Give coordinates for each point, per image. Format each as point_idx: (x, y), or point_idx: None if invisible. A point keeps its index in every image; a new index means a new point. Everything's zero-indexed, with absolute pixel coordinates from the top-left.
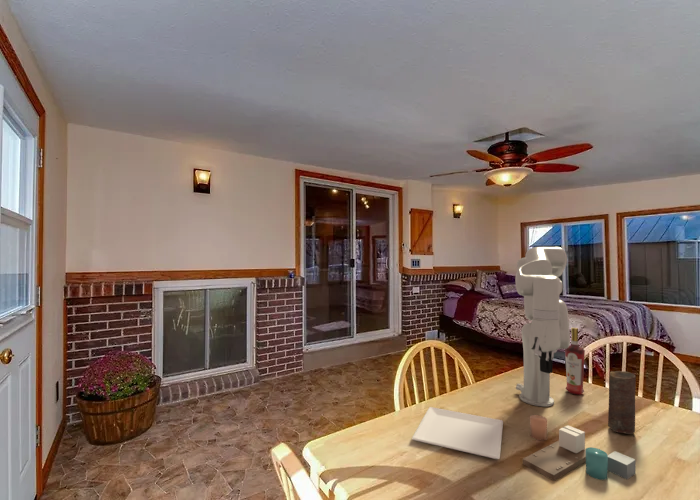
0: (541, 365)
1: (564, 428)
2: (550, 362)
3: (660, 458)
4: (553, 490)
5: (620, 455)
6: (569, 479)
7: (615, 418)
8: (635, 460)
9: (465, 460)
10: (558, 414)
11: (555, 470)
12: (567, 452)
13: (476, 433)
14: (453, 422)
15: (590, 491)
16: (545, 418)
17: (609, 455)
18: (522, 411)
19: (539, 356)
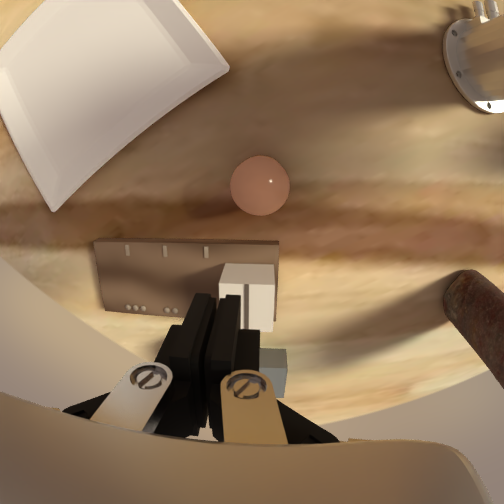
0: (164, 343)
1: (240, 290)
2: (199, 425)
3: (386, 377)
4: (88, 315)
5: (275, 380)
6: (141, 320)
7: (460, 311)
8: (283, 396)
9: (18, 166)
10: (452, 147)
11: (120, 306)
12: (215, 288)
13: (109, 81)
14: (111, 11)
15: (144, 353)
16: (280, 201)
17: None
18: (381, 60)
19: (94, 404)
